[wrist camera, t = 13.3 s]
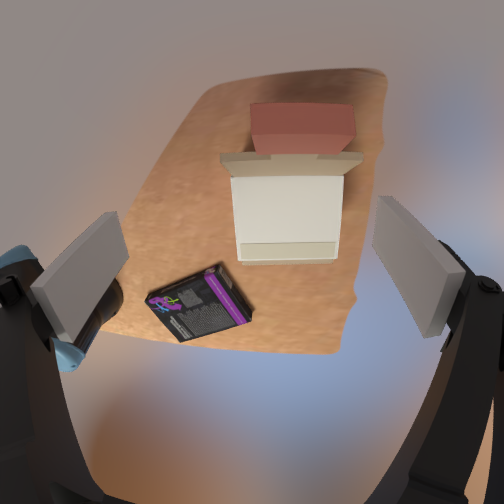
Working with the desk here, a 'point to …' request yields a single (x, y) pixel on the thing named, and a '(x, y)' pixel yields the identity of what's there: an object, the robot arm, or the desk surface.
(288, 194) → the carton
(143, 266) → the desk surface
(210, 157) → the desk surface
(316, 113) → the flap
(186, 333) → the box
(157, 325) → the desk surface
